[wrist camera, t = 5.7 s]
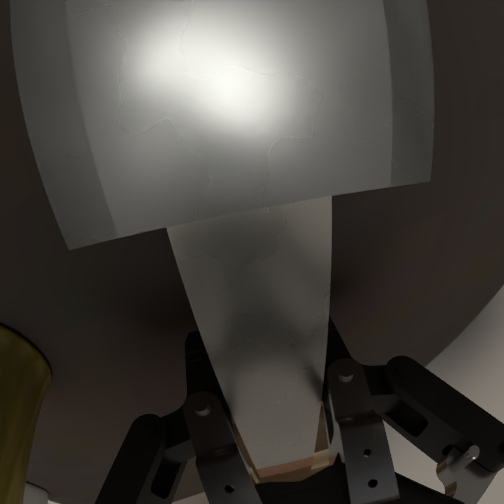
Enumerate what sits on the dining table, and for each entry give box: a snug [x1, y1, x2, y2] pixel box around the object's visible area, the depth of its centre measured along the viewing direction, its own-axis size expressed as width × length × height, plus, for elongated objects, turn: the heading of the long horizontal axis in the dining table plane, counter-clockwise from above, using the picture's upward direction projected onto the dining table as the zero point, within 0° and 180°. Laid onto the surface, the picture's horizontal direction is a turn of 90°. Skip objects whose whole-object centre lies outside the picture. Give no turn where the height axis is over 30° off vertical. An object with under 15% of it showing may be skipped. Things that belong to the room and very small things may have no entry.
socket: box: [231, 399, 329, 484], centre depth 17 cm, size 5×7×7 cm
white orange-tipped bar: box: [166, 196, 332, 478], centre depth 10 cm, size 22×3×4 cm, turn 7°
